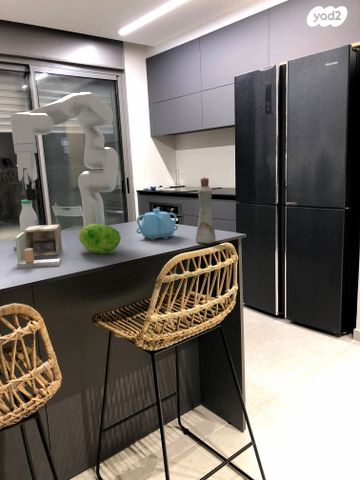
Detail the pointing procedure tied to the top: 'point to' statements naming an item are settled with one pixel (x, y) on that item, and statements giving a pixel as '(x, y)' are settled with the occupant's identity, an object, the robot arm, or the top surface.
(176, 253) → the top surface
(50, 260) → the fader strip
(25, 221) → the milk bottle
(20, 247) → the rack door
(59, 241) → the cabinet
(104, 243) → the lettuce
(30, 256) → the fader knob
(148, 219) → the decorative pot
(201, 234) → the bottle
